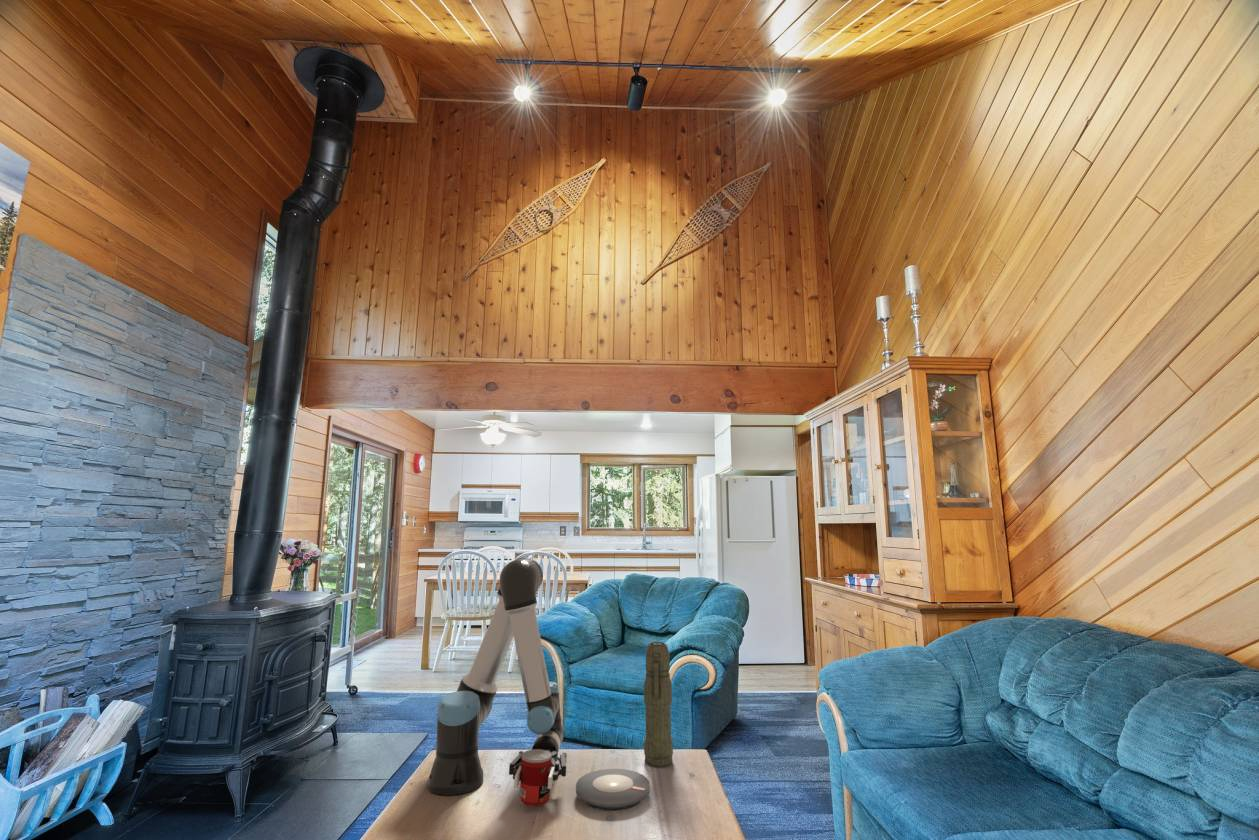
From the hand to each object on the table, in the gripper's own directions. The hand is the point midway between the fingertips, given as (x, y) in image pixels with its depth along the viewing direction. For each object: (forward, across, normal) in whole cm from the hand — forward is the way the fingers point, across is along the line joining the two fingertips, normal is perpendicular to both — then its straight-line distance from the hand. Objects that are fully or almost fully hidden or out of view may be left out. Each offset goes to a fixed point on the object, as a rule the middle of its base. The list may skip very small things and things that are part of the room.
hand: (532, 782), depth 154 cm
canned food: (-5, 0, -6) cm, 8 cm away
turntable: (-11, -20, -6) cm, 24 cm away
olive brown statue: (-34, -34, -7) cm, 49 cm away
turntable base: (-11, -20, -7) cm, 24 cm away
